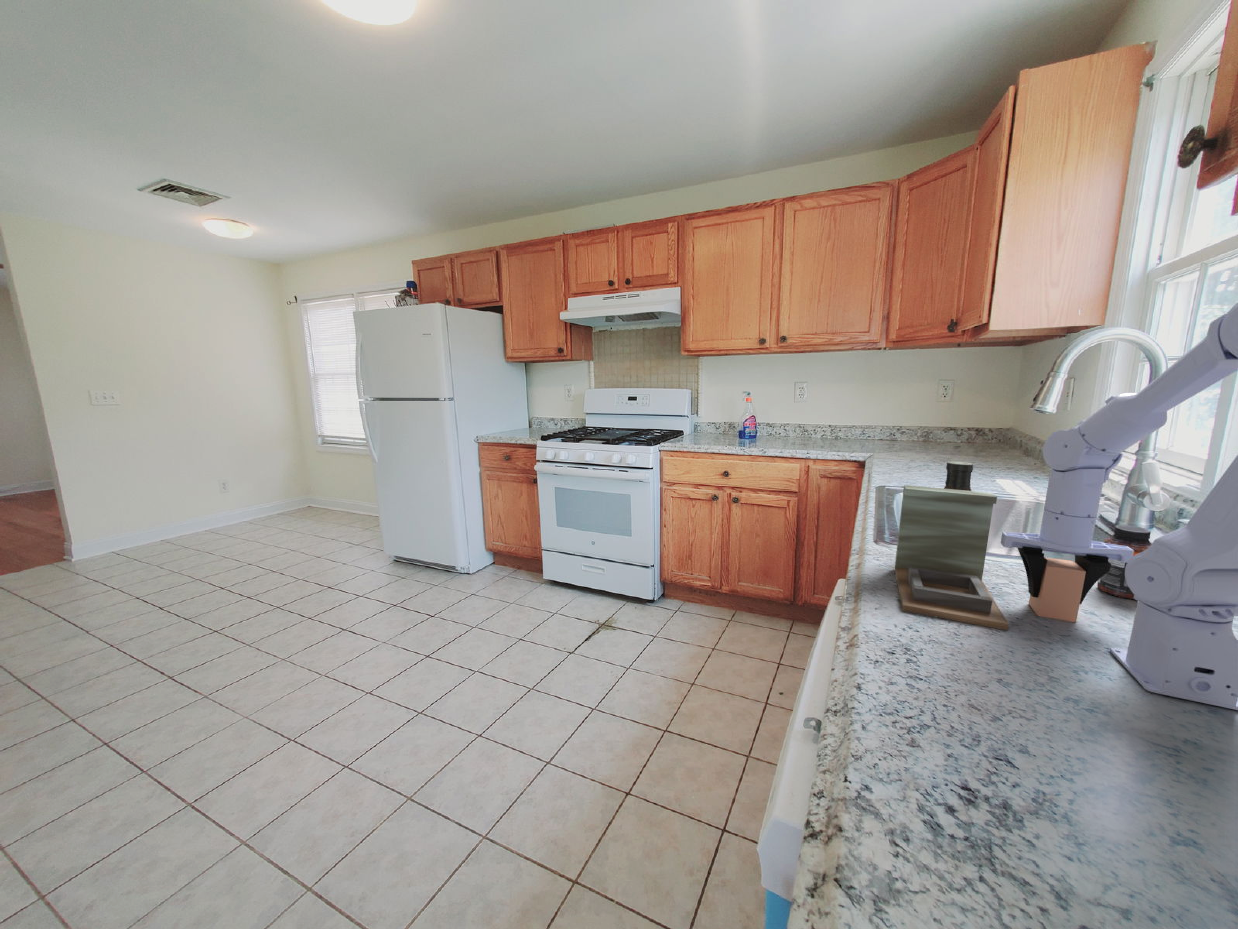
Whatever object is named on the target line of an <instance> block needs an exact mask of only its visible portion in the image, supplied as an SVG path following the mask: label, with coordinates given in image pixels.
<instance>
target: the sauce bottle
mask: <svg viewBox="0 0 1238 929" xmlns="http://www.w3.org/2000/svg"><path fill="white" fill-rule="evenodd" d="M945 469H946V477H945V478H946V480H945V485H944V487H943V489H954V490H965V491H972V488H971V479H972V473H973V470H974V464H973V463H971V462H967V461H966V462H965V461H947V462H946V467H945Z"/></svg>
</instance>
